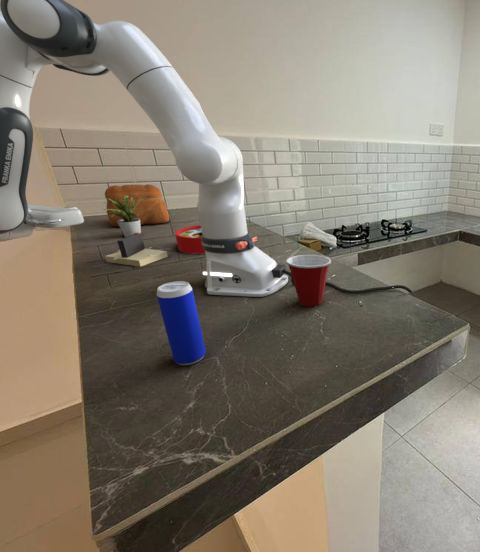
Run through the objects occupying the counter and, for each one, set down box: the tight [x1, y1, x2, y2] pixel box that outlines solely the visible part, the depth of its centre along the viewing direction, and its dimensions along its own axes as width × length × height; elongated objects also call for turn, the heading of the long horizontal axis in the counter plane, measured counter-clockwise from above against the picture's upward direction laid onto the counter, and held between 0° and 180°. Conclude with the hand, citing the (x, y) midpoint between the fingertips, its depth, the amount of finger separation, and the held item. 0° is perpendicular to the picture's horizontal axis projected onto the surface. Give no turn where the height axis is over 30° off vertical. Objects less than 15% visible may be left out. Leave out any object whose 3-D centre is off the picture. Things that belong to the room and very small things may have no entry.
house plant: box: [102, 195, 146, 238], centre depth 127 cm, size 14×14×16 cm
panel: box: [104, 246, 169, 267], centre depth 106 cm, size 14×13×2 cm
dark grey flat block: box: [117, 232, 146, 258], centre depth 105 cm, size 9×2×6 cm, turn 6°
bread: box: [104, 183, 170, 228], centre depth 145 cm, size 18×22×17 cm
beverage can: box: [156, 280, 207, 366], centre depth 58 cm, size 5×5×15 cm
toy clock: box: [174, 224, 206, 255], centre depth 122 cm, size 20×6×20 cm
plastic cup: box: [286, 254, 332, 308], centre depth 82 cm, size 11×11×12 cm
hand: (74, 209), depth 90 cm, fingers closed
